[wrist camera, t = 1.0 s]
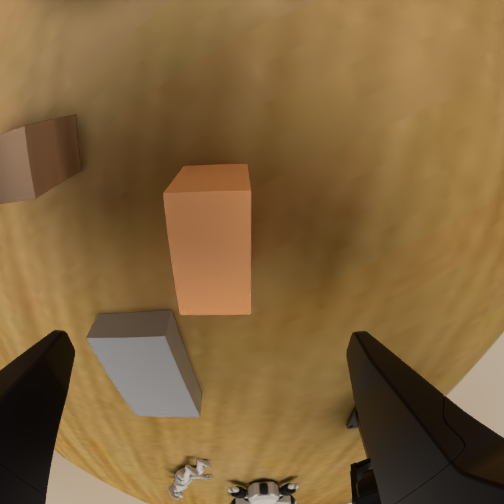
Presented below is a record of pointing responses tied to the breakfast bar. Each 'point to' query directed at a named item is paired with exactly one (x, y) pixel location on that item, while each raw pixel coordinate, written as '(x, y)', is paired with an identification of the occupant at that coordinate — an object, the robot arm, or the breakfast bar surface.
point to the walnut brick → (37, 158)
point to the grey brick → (147, 362)
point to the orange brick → (210, 238)
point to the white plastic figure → (187, 478)
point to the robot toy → (264, 493)
